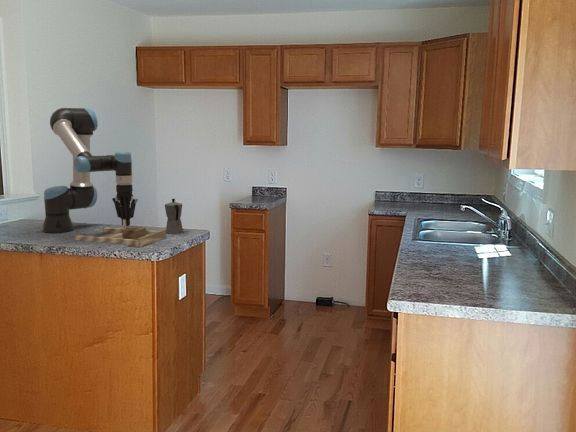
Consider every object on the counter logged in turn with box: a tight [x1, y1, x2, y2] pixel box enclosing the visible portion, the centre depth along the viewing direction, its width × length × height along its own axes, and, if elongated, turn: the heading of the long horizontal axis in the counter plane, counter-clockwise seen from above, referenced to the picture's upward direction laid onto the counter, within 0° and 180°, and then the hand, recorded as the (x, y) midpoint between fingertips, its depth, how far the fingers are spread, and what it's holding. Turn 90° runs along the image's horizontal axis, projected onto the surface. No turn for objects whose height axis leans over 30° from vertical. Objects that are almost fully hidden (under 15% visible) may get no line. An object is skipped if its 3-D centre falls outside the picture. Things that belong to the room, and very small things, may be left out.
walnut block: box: [122, 226, 147, 240], centre depth 259 cm, size 8×8×5 cm
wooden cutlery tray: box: [74, 227, 167, 248], centre depth 262 cm, size 36×23×4 cm, turn 73°
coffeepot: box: [164, 198, 184, 235], centre depth 279 cm, size 15×9×18 cm, turn 25°
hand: (126, 232), depth 261 cm, fingers closed
